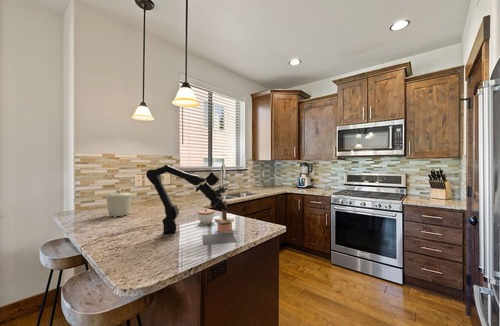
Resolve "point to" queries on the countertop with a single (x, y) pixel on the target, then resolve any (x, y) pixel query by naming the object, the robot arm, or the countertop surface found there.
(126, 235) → the countertop surface
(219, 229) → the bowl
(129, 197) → the canister
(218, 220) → the disc with tall peg
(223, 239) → the mat
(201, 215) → the lidded jar
